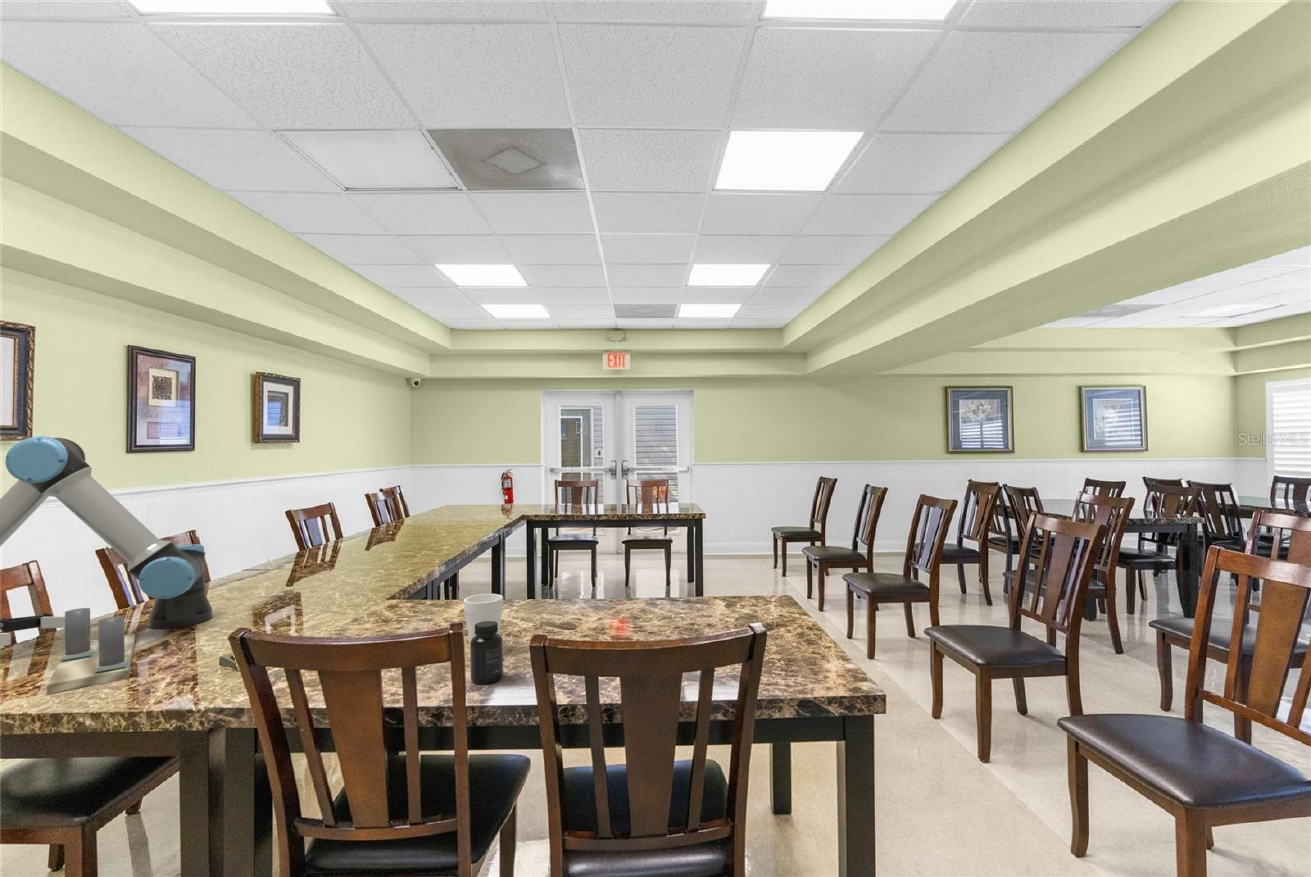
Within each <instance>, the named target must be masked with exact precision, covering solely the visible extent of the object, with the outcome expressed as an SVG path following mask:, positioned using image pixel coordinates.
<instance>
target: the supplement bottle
mask: <svg viewBox="0 0 1311 877" xmlns="http://www.w3.org/2000/svg"><path fill="white" fill-rule="evenodd" d="M497 632H498V623H497V622H495V621H483V622H479V623H477V624H475V631H474V633H475V635H476V636H474V637H473V638H472V639H471V641H470V643H469V649H470V650H469V652H470V653H469V660H470V661H469V662H470V663H469V664H470V680H471V682H472V683H473V684H475V685H479V686H480V685H481V686H485V685H493V684H495V683H498V682H500V681H501V680H502V679H503V676H504V645H503V644H504V643H503V637H502V635H501V634H500V633H499V634H497Z"/></svg>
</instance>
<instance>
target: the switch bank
mask: <svg viewBox="0 0 1311 877" xmlns="http://www.w3.org/2000/svg"><path fill="white" fill-rule="evenodd" d="M136 637H137V636H136V633H130V634H124V645H125V658H126V657H127V663H126V667H121V668H115V669H110V670H104V671H99V672H96V667H97V664H98V662H99V644H98V639H90V647H93V652H92V654H91V655H90V656H85V657H79V658H73V659H67V660H62V657H61V658H60V661H59V662H58V664H57V666H56V667H55V670H54V671H53V673H52V675H51V677H50V679H49V680H48V682H47V685H46V691H47V692H46V693H47V695H51V694H50V693H52V694H55V693H54V692H57V693H59V692H58V691H62V690H67V691H71V689H72V690H76V689H75V688H77V689H81V688H80V687H82V688H85V687H84V686H87V687H90V686H89V685H92V686H97V685H102V684H106V682H108V683H111V682H110V681H113V682H118V681H122V680H121V679H123V680H126V679H125V678H128V679H129V677H130V673H131V672H130V671H131V668H132V663H133V657H134V652H133V651H134V650H135V646H134V645H136V641H137V640H136ZM135 640H136V641H135ZM132 656H133V657H132ZM130 667H131V668H130ZM129 672H130V673H129ZM117 680H118V681H117ZM62 692H63V691H62Z"/></svg>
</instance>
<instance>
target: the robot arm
mask: <svg viewBox="0 0 1311 877" xmlns="http://www.w3.org/2000/svg"><path fill="white" fill-rule="evenodd" d="M4 462H5V464H4V465H5V468H6V470H7V471H8V473H9V474H10V475H11V476H12V477H13V478H15V479H17V481H16V482H15V483H14V484H13V485H12V486H11V487H10V488H9V489H8V490H7V491H6V492H5V493H4V494H3V495H2V496H1V497H0V548H1V547H2V546H3V544H5V542H7V541H8V539H9V538H10V537H11V536H12V535H13V534H14V533H15V532H16V531H17V530H18V529H19V528H20V527H21V526H22V525H23V524H24V523H25V522H26V521H27V520H28V519H29V517H30V516H31V515H32V514H33V513H34V512H35V511H36V510H37V509H38V508H39V507H40V506H42V505H43V503H44V502H45V501H46V500H47V499H48V498H49V497H54V498H56V499H57V500H58V501H59V502H61V503H62V504H63V505H64V506H65V507H66V508H67V509H69V511H70V512H71V513H73V514H74V515H75V516H76V517H77V518H78V519H80V520H81V521H82V522H83V523H84V524H85V525H86V526H87V527H89V529H91V530H92V531H93V532H94V533H95V534H96V535H97V536H98V537H100V538H101V539H102V540H103V541H104V542H105V543H106V544H107V545H108V546H110V547H111V548H112V549H113V550H114V551H115V552H116V553H117V554H119V555H120V556H121V557H122V558H123V559H124V560H125V561H126V562H127V571H128V573H130V574H131V575H132V576H133V577H134V579H136V580H137V581H138V585H139V588H140V589H141V591H142V592H143V593H144V594H145V595H146V596H148V597H151V598H153V599H155V602H154V604H153V607H152V609H151V611H150V615H149V618H148V627H149V628H150V629H160V630H161V629H173V628H180V627H181V628H182V627H187V626H191V625H195V624H200V623H203V622H206V621H209V620H210V619H213V608H212V606H211V604H210V602H209V601H210V600H209V599H208V596H207V594H206V571H205V570H206V568H205V566H206V562H205V559H206V558H205V556H206V552H205V547H204V545H203V544H200V543H199V544H183V545H175V544H174V543H173V542H172V541H171V540H161V539H159V537H157V536H156V535H155V534H154V533H153V532H152V531H151V530H149V528H147V527H146V526H145V525H144V524H143V523H142V522H141V521H140V520H139V519H138V518H137V517H136V516H134V514H132V512H130V511H129V510H128V509H127V508H126V507H125V506H124V505H122V503H120V501H118V500H117V499H116V498H115V497H114V496H113V495H112V494H111V493H109V491H108V490H106V488H104V487H103V486H102V485H101V484H100V483H99V482H98V481H97V480H96V479H94V477H92V471H93V470H92V469H93V468H92V467H91V465H89V464H88V462H86V454H85V451H84V449H83V448H82V447H81V446H80V445H79V444H78V443H77V442H75V441H73V440H71V439H67V438H63V437H49V436H40V435H39V436H33V437H29V438H25V439H23V440H20V441H18V442H17V443H14V444H13V445H12V446H11V447H10V449H8V451H7V453H6V456H5V461H4ZM37 628H38V629H39V628H40V629H65V615H64V616H62V615H61V616H60V615H59V616H52V613H51V614H50V613H46V612H45V613H43V614H41V615H40V614H39V615H30V616H23V617H22V616H20V617H10V618H9V617H8V618H6V617H5V618H1V619H0V630H2V631H0V647H3V646H4V647H6V646H11V645H12V632H16V631H22V630H30V629H37Z"/></svg>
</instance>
